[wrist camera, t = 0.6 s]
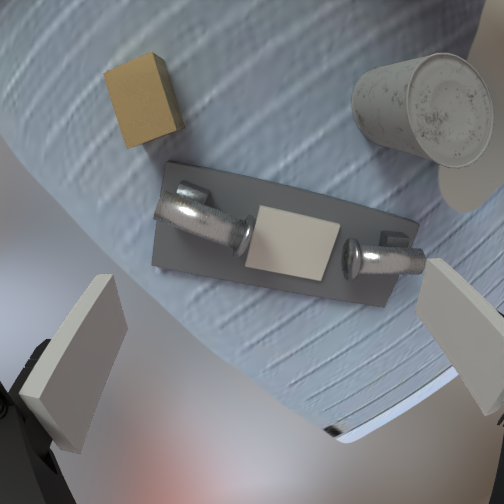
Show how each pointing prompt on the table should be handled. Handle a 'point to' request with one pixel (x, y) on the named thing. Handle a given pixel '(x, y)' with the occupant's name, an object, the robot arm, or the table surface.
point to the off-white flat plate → (291, 243)
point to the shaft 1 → (204, 218)
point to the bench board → (241, 205)
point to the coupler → (143, 100)
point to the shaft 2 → (382, 257)
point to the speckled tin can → (426, 109)
